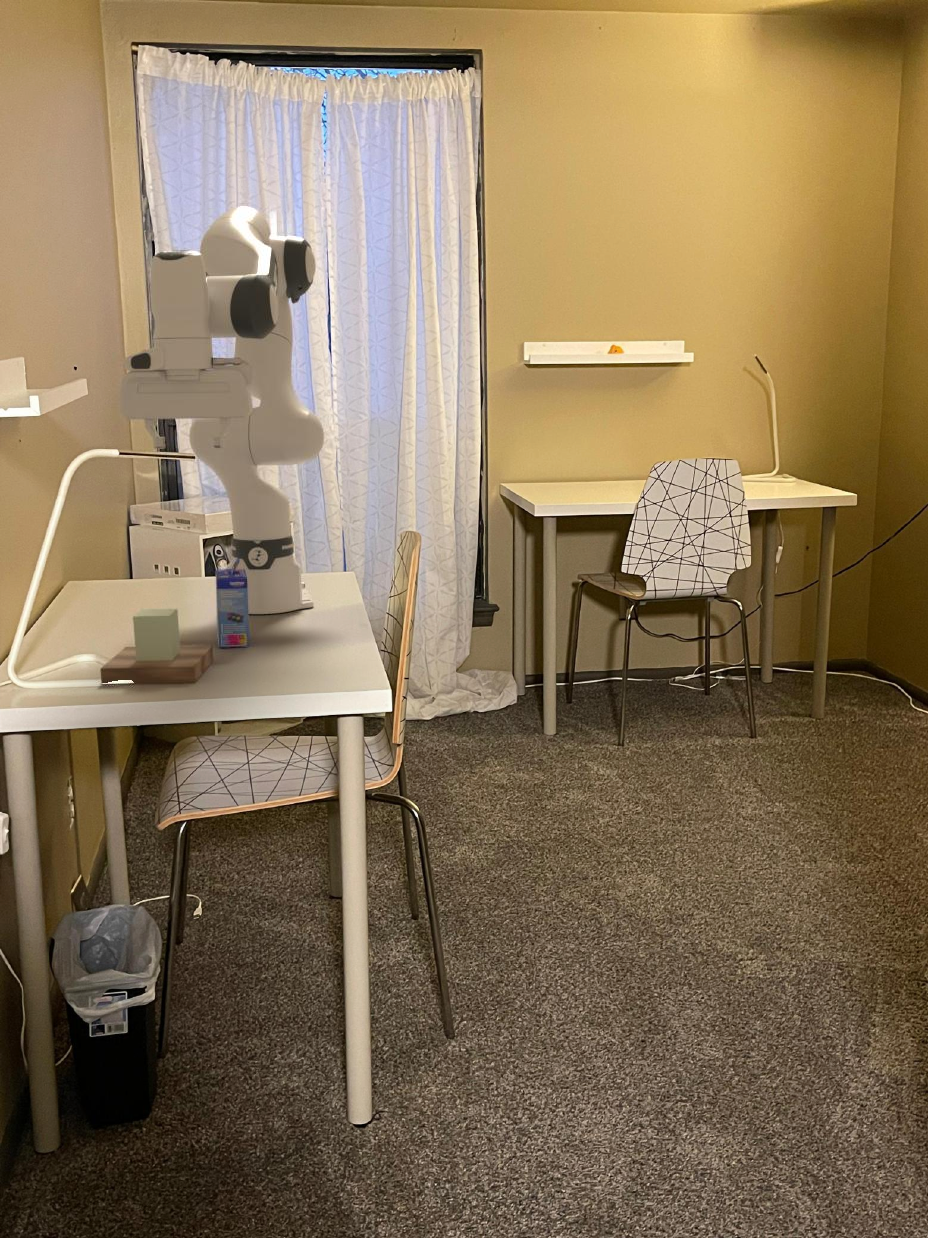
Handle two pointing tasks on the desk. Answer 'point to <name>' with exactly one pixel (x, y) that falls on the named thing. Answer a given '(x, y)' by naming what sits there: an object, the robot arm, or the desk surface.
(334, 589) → the desk surface
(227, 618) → the ink cartridge box
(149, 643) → the sage block
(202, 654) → the walnut base
